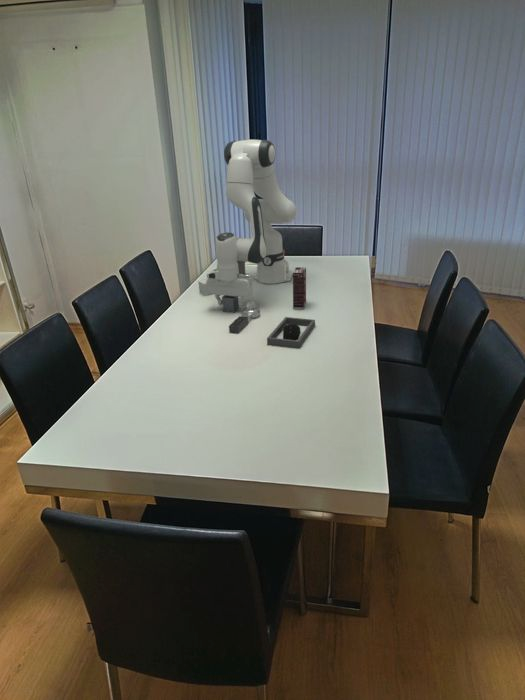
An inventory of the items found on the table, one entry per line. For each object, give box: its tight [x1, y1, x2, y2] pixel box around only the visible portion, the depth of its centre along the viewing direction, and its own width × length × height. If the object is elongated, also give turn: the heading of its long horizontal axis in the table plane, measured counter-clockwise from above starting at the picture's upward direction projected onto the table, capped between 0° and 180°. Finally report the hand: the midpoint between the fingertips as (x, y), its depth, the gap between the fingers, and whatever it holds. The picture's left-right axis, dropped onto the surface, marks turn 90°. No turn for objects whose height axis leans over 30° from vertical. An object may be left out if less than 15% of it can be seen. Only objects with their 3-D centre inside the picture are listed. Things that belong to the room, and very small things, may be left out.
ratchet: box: [228, 300, 261, 334], centre depth 193 cm, size 22×7×6 cm, turn 159°
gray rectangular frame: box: [266, 316, 316, 349], centre depth 181 cm, size 21×12×2 cm, turn 159°
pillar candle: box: [237, 261, 246, 275], centre depth 248 cm, size 10×10×15 cm
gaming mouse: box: [282, 324, 301, 340], centre depth 180 cm, size 6×15×4 cm, turn 173°
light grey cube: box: [198, 278, 214, 297], centre depth 228 cm, size 6×6×6 cm
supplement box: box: [292, 266, 307, 310], centre depth 205 cm, size 9×5×16 cm, turn 168°
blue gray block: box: [221, 295, 240, 314], centre depth 206 cm, size 5×5×6 cm
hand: (230, 305), depth 207 cm, fingers open, 8 cm apart
